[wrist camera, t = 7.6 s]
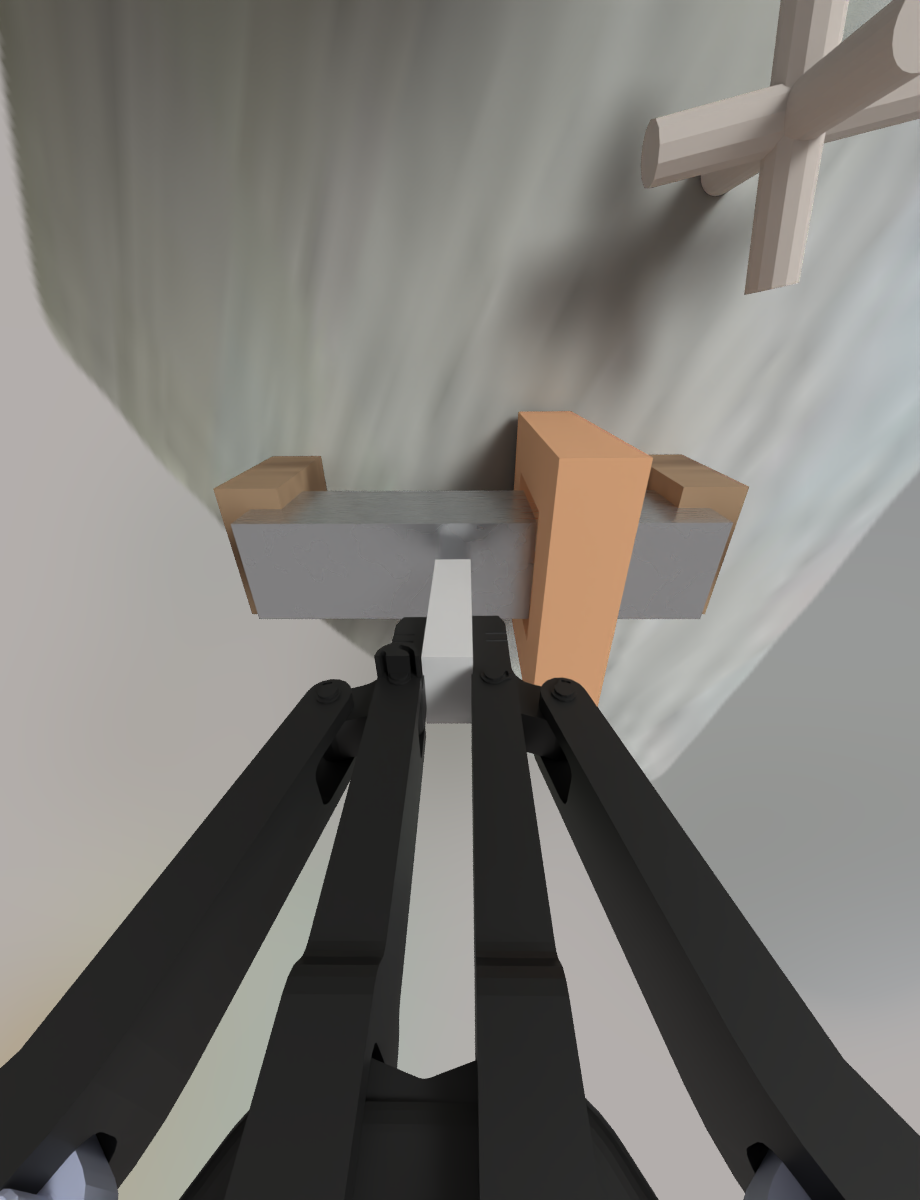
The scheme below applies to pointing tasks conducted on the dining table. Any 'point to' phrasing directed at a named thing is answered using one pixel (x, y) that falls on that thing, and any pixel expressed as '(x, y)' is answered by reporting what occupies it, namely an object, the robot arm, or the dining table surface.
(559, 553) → the peach rectangular loop
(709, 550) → the grey long bar
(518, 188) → the dining table surface
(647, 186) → the pipe connector
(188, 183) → the dining table surface
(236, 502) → the stand
